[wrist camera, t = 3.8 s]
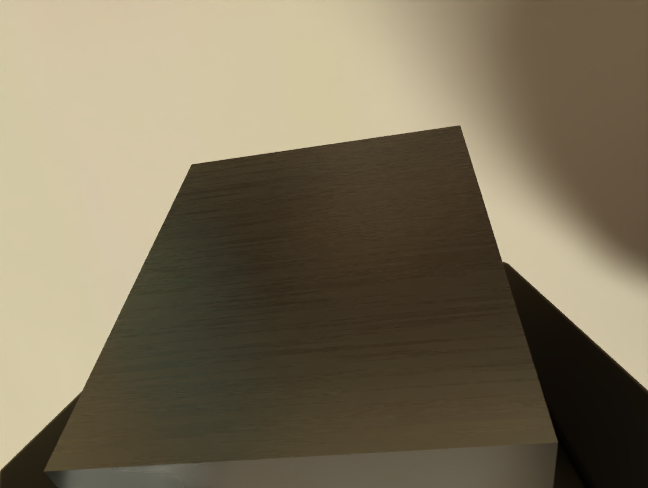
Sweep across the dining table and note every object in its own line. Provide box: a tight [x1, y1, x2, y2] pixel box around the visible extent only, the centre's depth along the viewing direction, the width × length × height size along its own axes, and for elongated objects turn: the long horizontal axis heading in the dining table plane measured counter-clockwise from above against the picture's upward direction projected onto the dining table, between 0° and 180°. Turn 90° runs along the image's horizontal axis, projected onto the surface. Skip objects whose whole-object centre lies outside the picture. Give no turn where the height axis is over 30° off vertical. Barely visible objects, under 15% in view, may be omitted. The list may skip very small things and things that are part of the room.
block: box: [44, 126, 558, 488], centre depth 7 cm, size 4×4×5 cm
